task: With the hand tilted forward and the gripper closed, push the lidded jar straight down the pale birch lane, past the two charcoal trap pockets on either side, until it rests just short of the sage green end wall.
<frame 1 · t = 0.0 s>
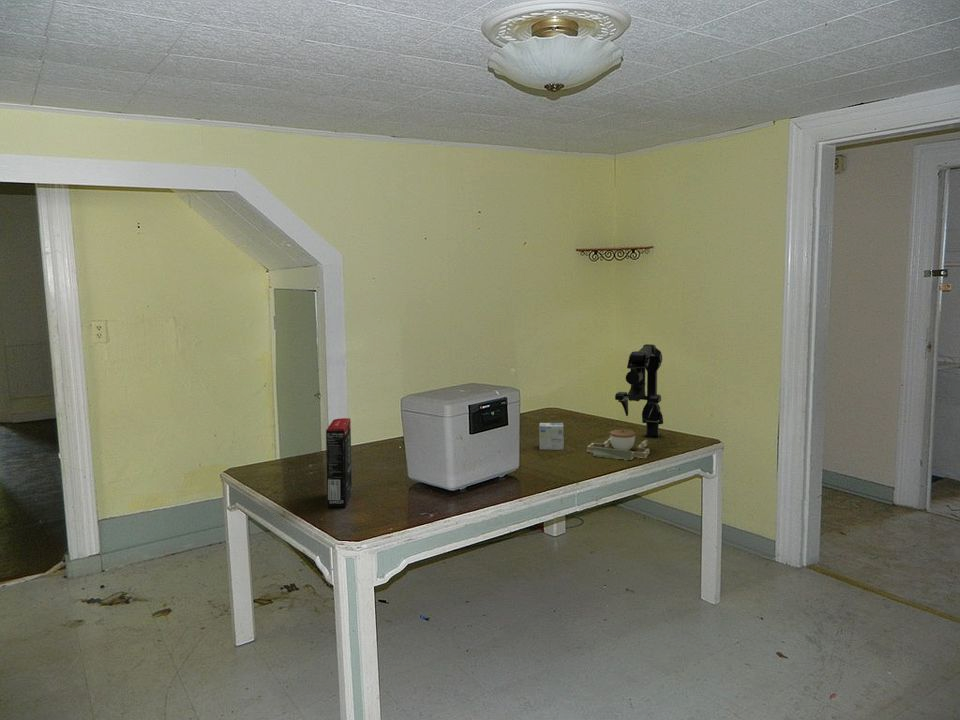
hand: (637, 417, 305), 15 cm above the table, tool pointing down, fingers open, 9 cm apart
lidded jar: (622, 450, 308), resting in trap lane
graphics card box: (340, 500, 245), on the table
trap lane: (622, 449, 308), on the table
light bulb box: (551, 448, 312), on the table
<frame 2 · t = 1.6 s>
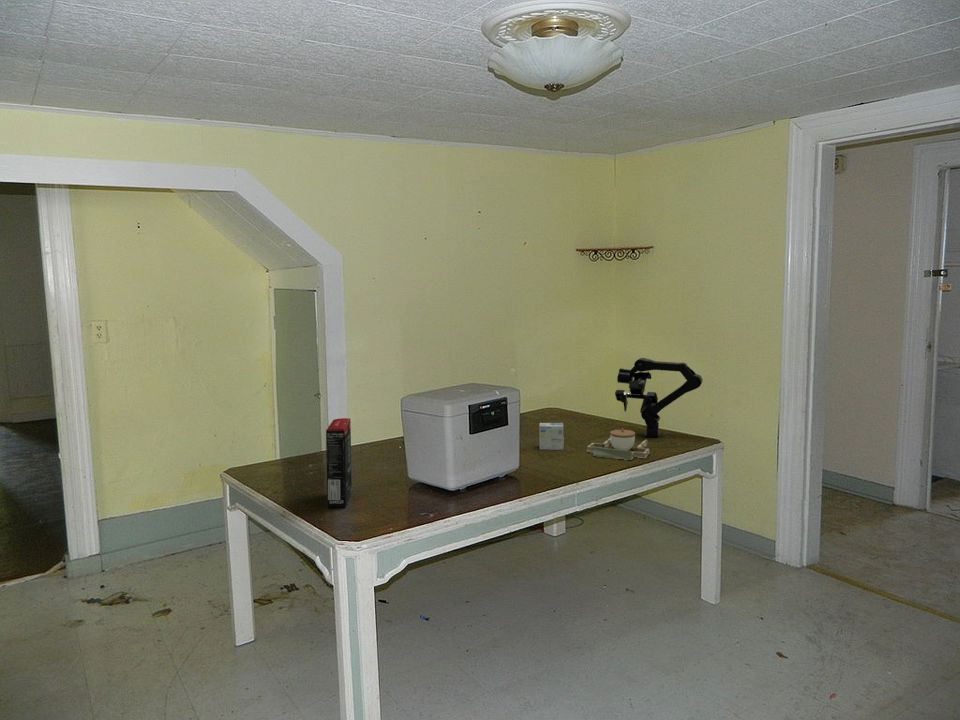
hand: (632, 411, 321), 14 cm above the table, tool tilted 45°, fingers open, 7 cm apart
nothing on the table moved.
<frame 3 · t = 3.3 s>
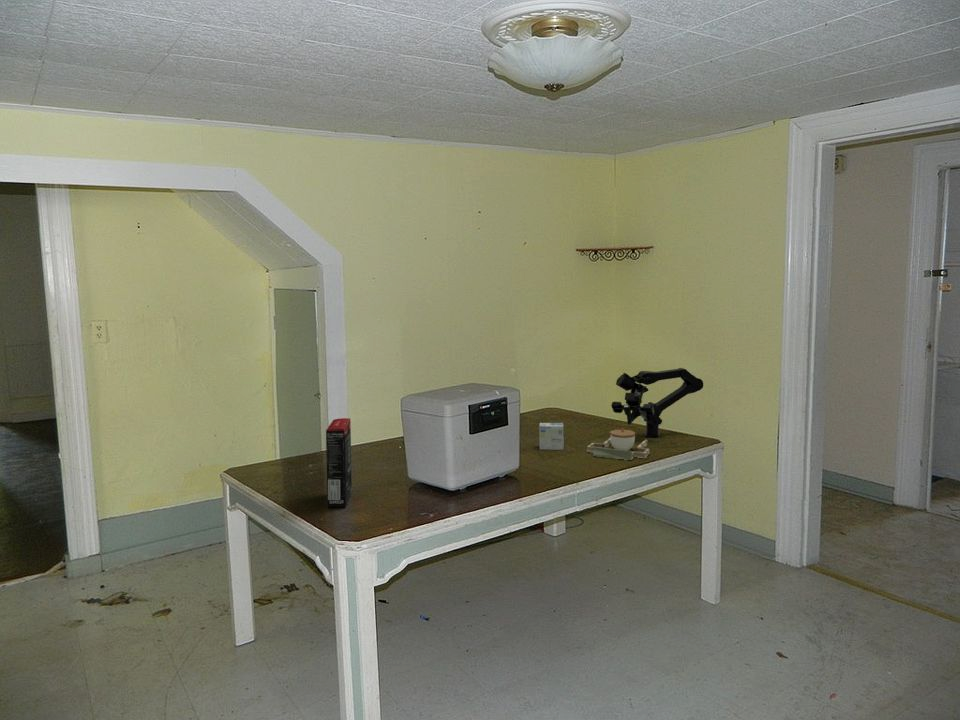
hand: (628, 424, 318), 9 cm above the table, tool tilted 45°, fingers closed
nothing on the table moved.
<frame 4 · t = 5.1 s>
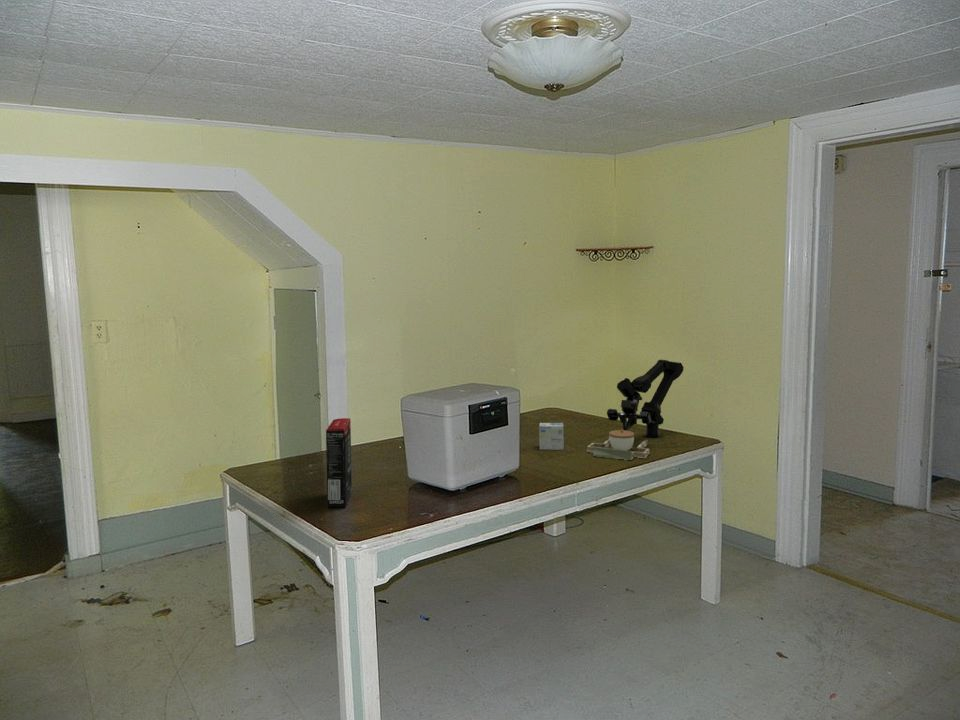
hand: (624, 432, 311), 7 cm above the table, tool tilted 45°, fingers closed, pressing on lidded jar
lidded jar: (621, 450, 307), resting in trap lane, touching gripper
everything else where it was.
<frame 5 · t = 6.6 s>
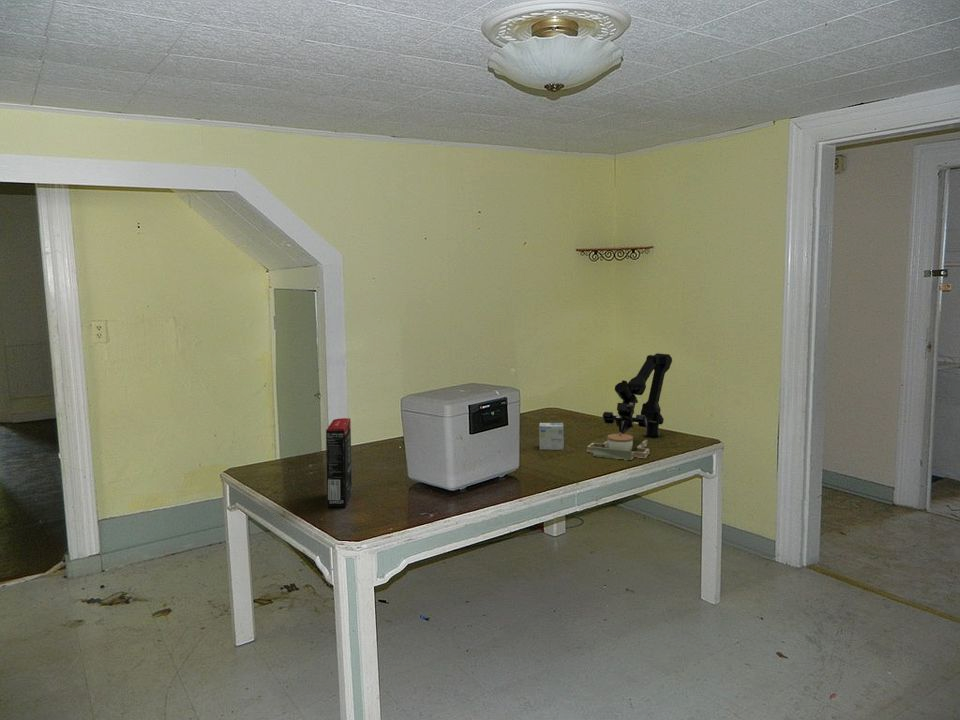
hand: (620, 435, 305), 7 cm above the table, tool tilted 45°, fingers closed
lidded jar: (619, 454, 300), resting in trap lane, touching gripper
everything else where it was.
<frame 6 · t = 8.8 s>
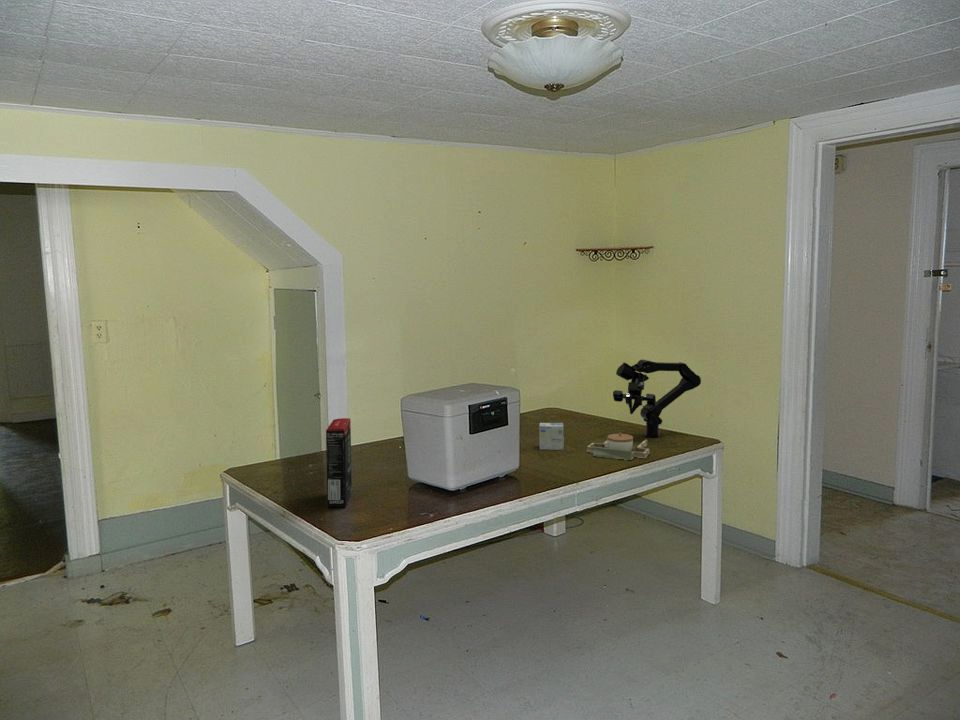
hand: (631, 413, 317), 13 cm above the table, tool tilted 40°, fingers closed
lidded jar: (619, 454, 300), resting in trap lane
everything else where it was.
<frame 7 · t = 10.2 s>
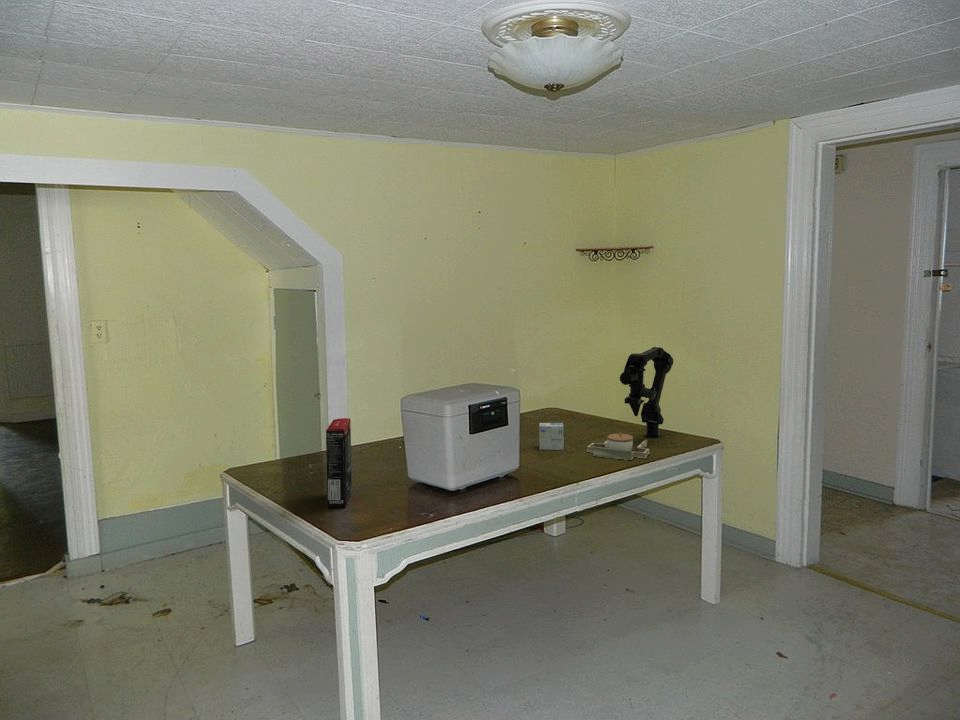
hand: (636, 416, 319), 12 cm above the table, tool pointing down, fingers closed
nothing on the table moved.
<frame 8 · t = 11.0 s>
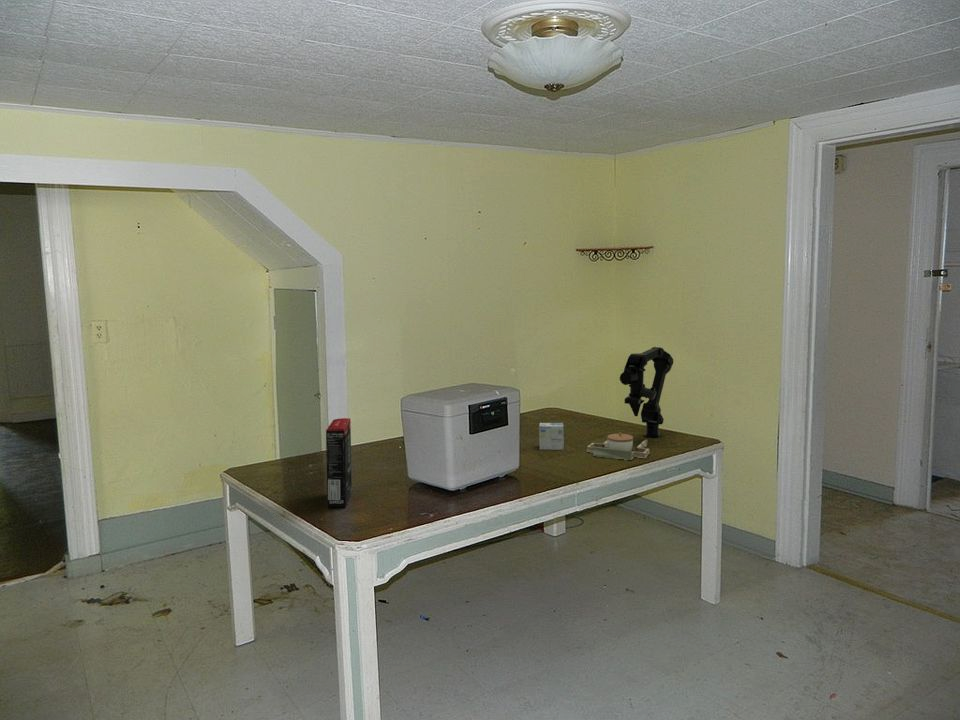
hand: (636, 416, 319), 12 cm above the table, tool pointing down, fingers closed
nothing on the table moved.
at the end: lidded jar 1.3 cm from the target spot, resting in trap lane; lidded jar tilted 0° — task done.
